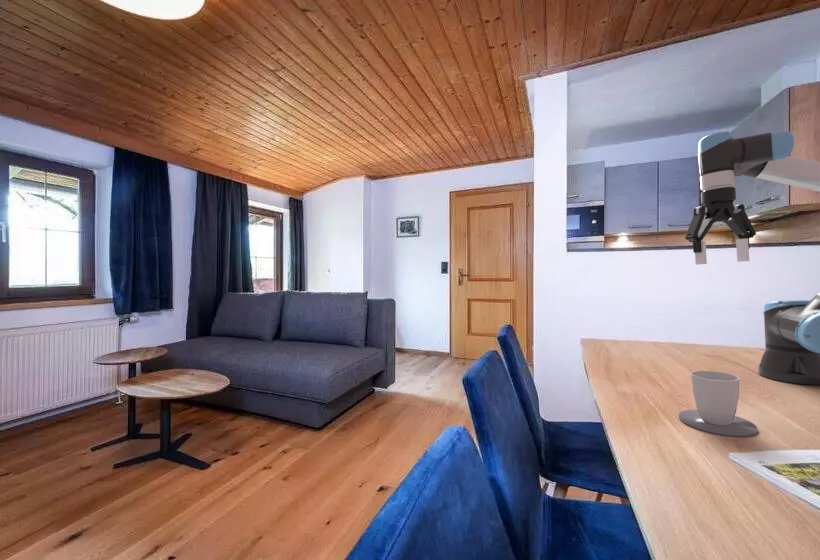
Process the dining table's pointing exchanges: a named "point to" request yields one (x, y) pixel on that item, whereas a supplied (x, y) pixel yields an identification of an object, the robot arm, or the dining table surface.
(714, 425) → the coaster
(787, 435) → the dining table surface
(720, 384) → the cup
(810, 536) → the dining table surface
